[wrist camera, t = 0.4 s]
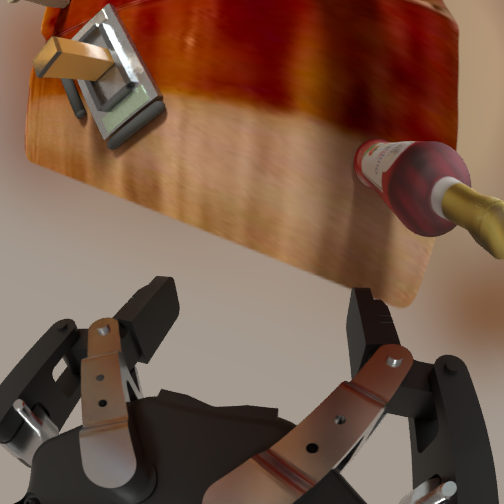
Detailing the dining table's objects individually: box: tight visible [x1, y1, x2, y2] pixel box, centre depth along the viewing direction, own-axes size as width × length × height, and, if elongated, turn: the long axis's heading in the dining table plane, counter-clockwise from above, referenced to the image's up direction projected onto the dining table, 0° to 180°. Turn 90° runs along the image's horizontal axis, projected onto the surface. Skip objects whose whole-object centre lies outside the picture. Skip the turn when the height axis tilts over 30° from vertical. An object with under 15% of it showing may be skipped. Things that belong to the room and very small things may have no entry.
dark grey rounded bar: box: [107, 101, 165, 150], centre depth 36 cm, size 12×2×2 cm, turn 118°
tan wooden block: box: [33, 36, 115, 81], centre depth 26 cm, size 4×5×13 cm
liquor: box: [354, 139, 504, 259], centre depth 21 cm, size 7×7×28 cm
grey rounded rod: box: [61, 78, 86, 119], centre depth 35 cm, size 16×2×2 cm, turn 28°
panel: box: [71, 4, 162, 140], centre depth 32 cm, size 24×12×3 cm, turn 28°
